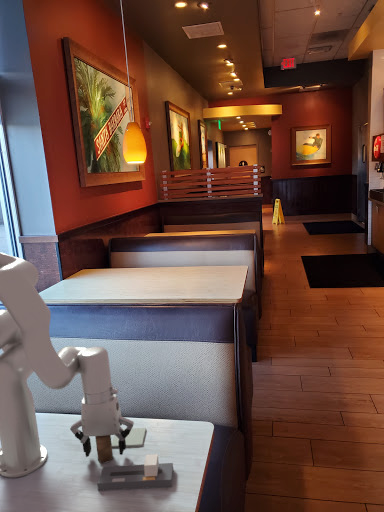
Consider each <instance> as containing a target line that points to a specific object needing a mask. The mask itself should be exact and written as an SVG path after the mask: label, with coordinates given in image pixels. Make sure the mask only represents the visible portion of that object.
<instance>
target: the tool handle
mask: <svg viewBox="0 0 384 512" xmlns="http://www.w3.org/2000/svg"><path fill="white" fill-rule="evenodd" d="M111 436H112V435H106V436H94V437H95V438H94V439H95V446H96V452H97V454H96V455H97V461H98V462H99V463H103V464H104V463H109V462H111V461H112V460H113V458H114V452H113V448H112V437H111Z"/></svg>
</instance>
